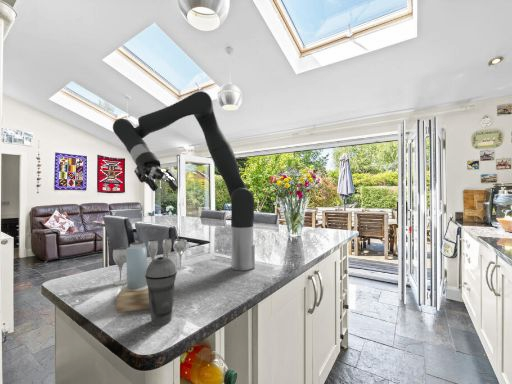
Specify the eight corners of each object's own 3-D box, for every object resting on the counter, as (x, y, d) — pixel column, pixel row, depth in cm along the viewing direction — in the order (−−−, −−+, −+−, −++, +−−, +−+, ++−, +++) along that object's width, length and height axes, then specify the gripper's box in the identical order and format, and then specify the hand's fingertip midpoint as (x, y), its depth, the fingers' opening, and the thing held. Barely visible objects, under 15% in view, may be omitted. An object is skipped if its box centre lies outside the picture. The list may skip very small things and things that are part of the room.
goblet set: (115, 286, 85) (115, 247, 85) (110, 282, 89) (110, 244, 90) (190, 268, 104) (190, 236, 104) (183, 266, 109) (183, 235, 109)
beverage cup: (151, 314, 65) (150, 237, 65) (180, 313, 66) (179, 236, 66) (140, 329, 58) (140, 242, 58) (172, 328, 58) (172, 242, 58)
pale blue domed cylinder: (149, 281, 77) (148, 245, 76) (145, 288, 71) (144, 249, 71) (130, 282, 76) (129, 246, 75) (124, 289, 70) (123, 250, 70)
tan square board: (168, 288, 83) (168, 274, 83) (164, 306, 70) (164, 290, 70) (129, 292, 80) (129, 277, 80) (116, 312, 67) (116, 295, 67)
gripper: (131, 148, 86) (153, 180, 80) (165, 153, 98) (187, 182, 93) (122, 164, 89) (143, 197, 83) (156, 168, 101) (176, 196, 95)
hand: (166, 189), depth 88 cm, fingers open, 8 cm apart
